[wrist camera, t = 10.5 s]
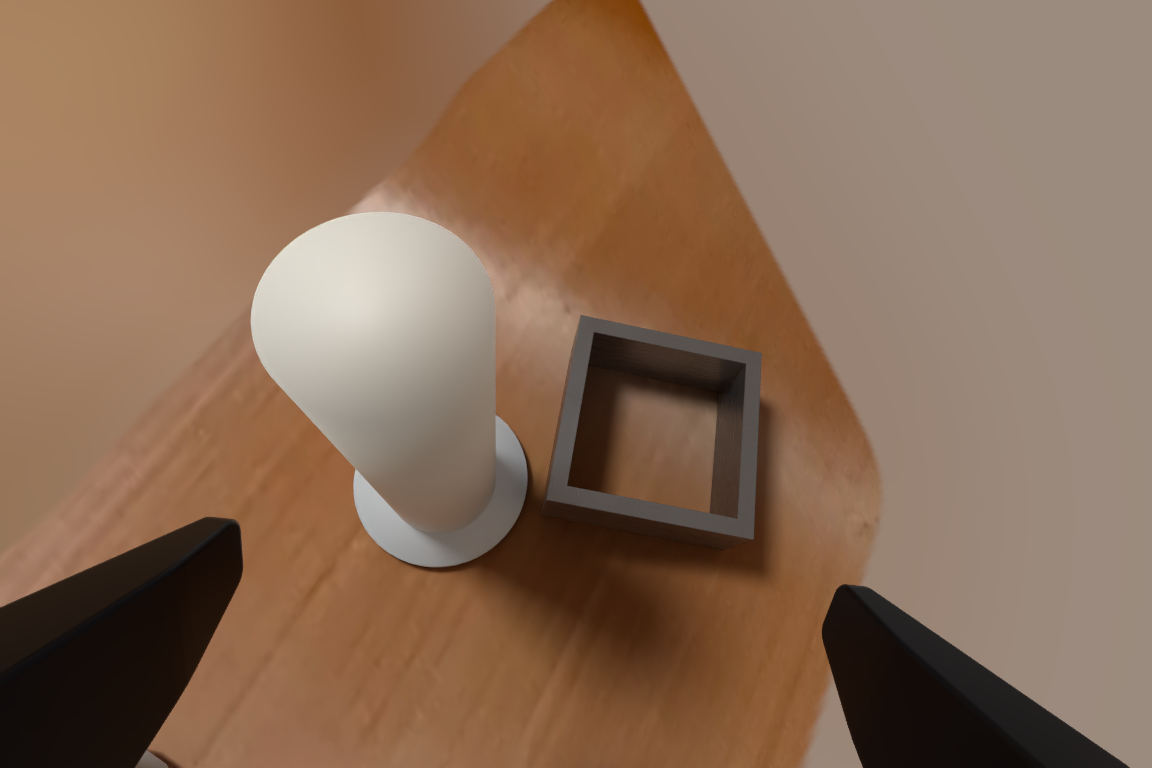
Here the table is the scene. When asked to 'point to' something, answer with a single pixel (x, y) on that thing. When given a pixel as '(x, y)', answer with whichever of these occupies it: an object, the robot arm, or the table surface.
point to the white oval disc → (461, 542)
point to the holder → (734, 440)
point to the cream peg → (390, 358)
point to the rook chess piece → (150, 761)
